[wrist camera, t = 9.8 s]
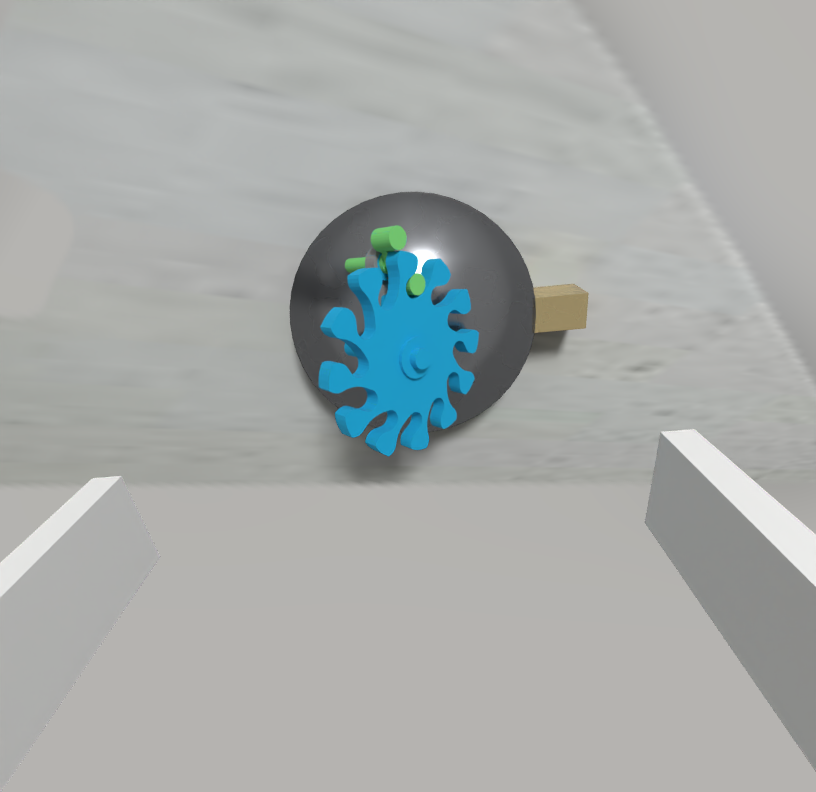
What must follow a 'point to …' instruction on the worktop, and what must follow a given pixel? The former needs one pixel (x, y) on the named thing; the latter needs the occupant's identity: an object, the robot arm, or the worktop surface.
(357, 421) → the gear
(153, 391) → the worktop surface
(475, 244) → the dark grey frying pan
